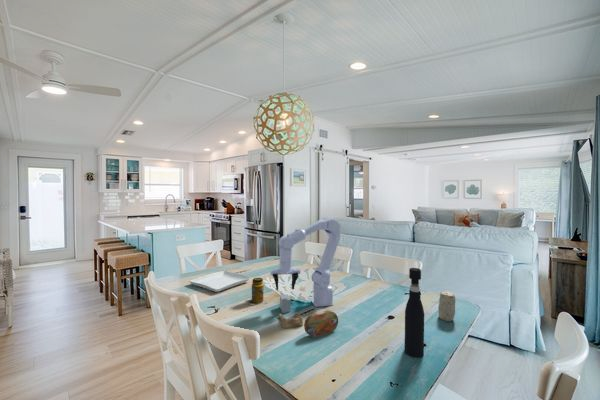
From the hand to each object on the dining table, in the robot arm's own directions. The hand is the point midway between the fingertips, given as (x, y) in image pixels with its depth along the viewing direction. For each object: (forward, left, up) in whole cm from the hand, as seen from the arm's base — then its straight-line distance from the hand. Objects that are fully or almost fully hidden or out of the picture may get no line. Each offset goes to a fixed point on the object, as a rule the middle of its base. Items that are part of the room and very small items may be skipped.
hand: (285, 289), depth 138 cm
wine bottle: (-38, +47, -10) cm, 61 cm away
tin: (-10, +26, -10) cm, 30 cm away
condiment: (+13, -13, -10) cm, 21 cm away
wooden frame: (0, +13, -10) cm, 16 cm away
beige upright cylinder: (-69, +27, -10) cm, 75 cm away
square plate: (+32, -47, -11) cm, 58 cm away
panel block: (0, 0, -10) cm, 10 cm away
